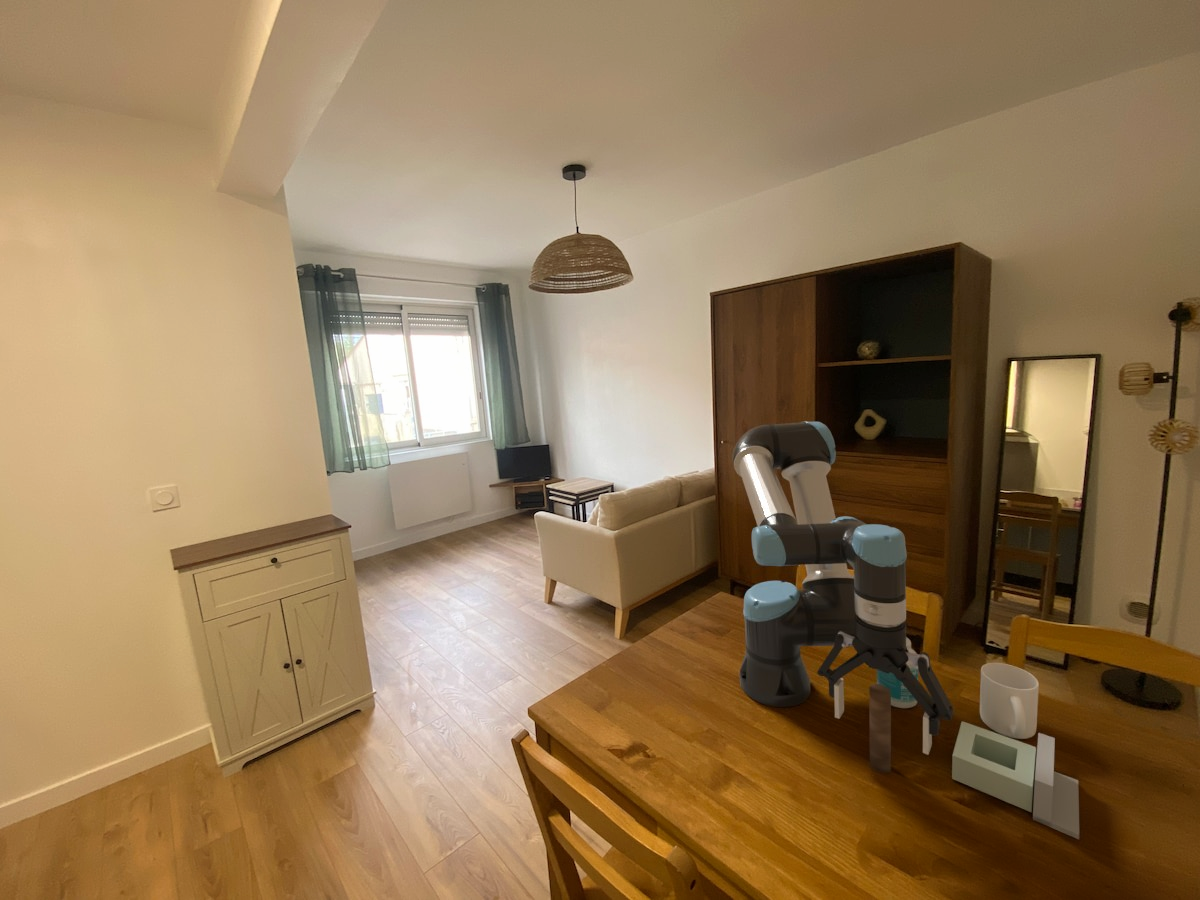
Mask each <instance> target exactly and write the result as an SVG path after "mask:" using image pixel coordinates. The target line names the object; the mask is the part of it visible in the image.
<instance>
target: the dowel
mask: <svg viewBox="0 0 1200 900" xmlns="http://www.w3.org/2000/svg"><path fill="white" fill-rule="evenodd" d="M868 689H869V690H868V691H869V765H870V767H871V769H872V770H873V771H875V772H878V773H879V774H884V775H885V774H889V773H890V772H891V771H892V762H891V761H892V759H891V758H892V757H891V755H892V746H891V745H892V741H891V739H892V731H891V729H892V713H891V712H892V711H891V710H892V705H891V691H890V690H889V689H888V688H887V687H885V686H883V685H880V684H877V683H873V684H871V685H870V686H869V687H868Z"/></svg>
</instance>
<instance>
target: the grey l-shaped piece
mask: <svg viewBox="0 0 1200 900" xmlns="http://www.w3.org/2000/svg"><path fill="white" fill-rule="evenodd" d="M1055 739H1056V738H1055V737H1053V736H1049V735H1047V734H1044V733H1041V732H1038V734H1037V745H1036V757H1035V775H1034V787H1033V804H1032V820H1033V821H1035V822H1038V823H1040V824H1042V825H1045V826H1047V827H1049V828H1052V829H1054V830H1057V831H1058V832H1060V833H1063V834H1065V835H1068V836H1070V837H1071V838H1075V839H1076V840H1080V801H1079V800H1080V798H1079V780H1078V779H1076V778H1073V777H1070V776H1068V775H1064V774H1062V773H1059V772H1056V771H1054V770H1055V769H1054V768H1055V747H1056V746H1055V745H1056V744H1055V742H1056V741H1055Z"/></svg>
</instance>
